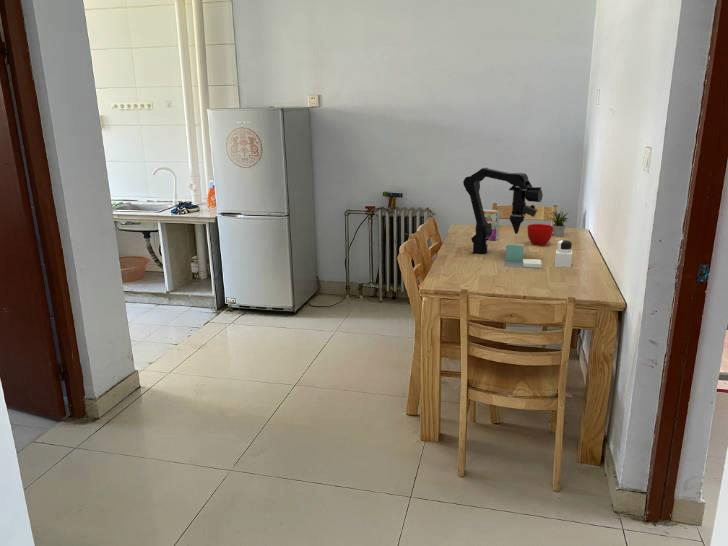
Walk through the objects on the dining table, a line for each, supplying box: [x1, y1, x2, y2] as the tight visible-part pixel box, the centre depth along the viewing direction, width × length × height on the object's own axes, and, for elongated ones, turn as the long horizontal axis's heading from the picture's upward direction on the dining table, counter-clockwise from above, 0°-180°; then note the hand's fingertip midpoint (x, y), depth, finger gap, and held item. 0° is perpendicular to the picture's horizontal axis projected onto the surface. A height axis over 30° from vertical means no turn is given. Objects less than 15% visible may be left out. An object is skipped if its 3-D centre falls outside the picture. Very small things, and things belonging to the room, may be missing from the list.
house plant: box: [547, 207, 571, 238], centre depth 325 cm, size 14×14×16 cm
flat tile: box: [523, 258, 543, 269], centre depth 263 cm, size 8×8×2 cm
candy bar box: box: [483, 208, 501, 242], centre depth 318 cm, size 11×5×16 cm, turn 58°
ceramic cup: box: [527, 223, 553, 247], centre depth 306 cm, size 13×17×10 cm
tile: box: [504, 243, 525, 262], centre depth 271 cm, size 8×2×8 cm, turn 71°
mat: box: [503, 260, 541, 270], centre depth 268 cm, size 16×16×1 cm
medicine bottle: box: [554, 239, 573, 269], centre depth 263 cm, size 7×7×12 cm
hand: (516, 232), depth 275 cm, fingers open, 5 cm apart
